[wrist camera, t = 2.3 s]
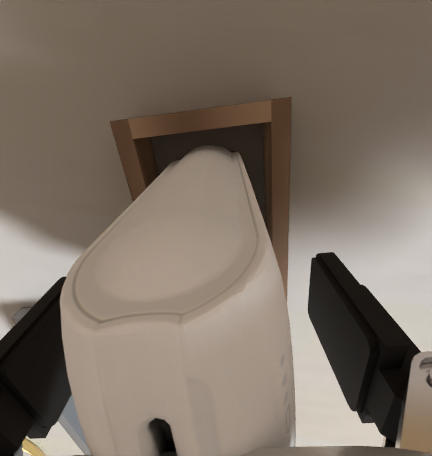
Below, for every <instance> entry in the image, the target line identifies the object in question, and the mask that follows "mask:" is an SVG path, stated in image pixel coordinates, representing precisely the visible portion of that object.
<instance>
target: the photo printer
mask: <svg viewBox="0 0 432 456" xmlns="http://www.w3.org/2000/svg"><path fill="white" fill-rule="evenodd" d="M60 310H61V329H62V340H63V347H64V354H65V361H66V368H67V375H68V379H69V383H70V387H71V391H72V396H73V400H74V404H75V408H76V412H77V416H78V419H79V422H80V425H81V428H82V431H83V434H84V437H85V440H86V443H87V446H88V449H89V451H90V453H91V455H93V456H160V455H161V454H162V453H163V452H169V451H176V452H177V456H240V455H243V454H246V453H248V452H250V451H253V450H255V449H257V448H278V447H295V420H296V417H295V388H294V371H293V355H292V345H291V334H290V323H289V315H288V308H287V302H286V297H285V292H284V287H283V282H282V277H281V273H280V270H279V267H278V263H277V260H276V257H275V253H274V250H273V247H272V243H271V240H270V237H269V235H268V232H267V229H266V226H265V223H264V220H263V217H262V214H261V211H260V208H259V206H258V203H257V200H256V197H255V194H254V191H253V188H252V185H251V182H250V180H249V177H248V174H247V171H246V168H245V166H244V163H243V160H242V158H241V155H240V153H238V152H233V153H231V152H230V151H228V150H227V149H225V148H223V147H219V146H215V145H204V146H199V147H196V148H194V149H192V150H191V151H189V152H188V153H187V154H186V155H185V156H184V157H183V158H182V159H181V160H175V161H173V162H172V163H171V164H170V165H169V166H168V167H167V168H166V169H165V170H164V171H163V172H162V173H161V174H160V175H159V176H158V177H157V178H156V179H155V180H154V181H153V182H152V183H151V184H150V185H149V186H148V187H147V188H146V189H145V190H144V192H143V193H142V194H141V195H140V196H139V197H137V199H136V200H135V201H134V202H133V203H132V204H131V205H130V206H129V207H128V208H127V209H126V210H125V211H124V212H123V213H122V214H121V215H120V216H118V218H117V219H116V220H115V221H114V222H113V223H112V224H111V225H110V226H109V227H108V228H107V229H106V230H105V231H104V232H103V233H102V234H101V235H100V236H99V237H98V238H97V239H96V240H95V241H94V242H93V243H92V244H91V245H90V246H89V247H88V248H87V249H86V250H85V251H84V252H83V253H82V255H81V256H80V257H79V258H78V259H77V261H76V262H75V263H74V264H73V266H72V267H71V269H70V271H69V272H68V274H67V277H66V280H65V282H64V285H63V287H62V291H61V296H60Z"/></svg>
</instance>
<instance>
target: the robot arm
mask: <svg viewBox="0 0 432 456" xmlns="http://www.w3.org/2000/svg"><path fill="white" fill-rule="evenodd" d="M65 280H66V277H62V278H60V279H59V280H58V281H57V282H56V283H55V284H54V285H53V286H52V287H51V288H50V289H49V290H48V291H47V293H46V294H45V295H44V296H43V297H42V298H41V299H40V300H39V301H38V302H37V303H36V304H35V305H34V306H33V307H32V308H31V309H30V310H29V311H28V312H27V313H26V314H25V315H24V316H23V317H22V319H21V320H20V321H19V322H18V323H17V324H16V325H15V326H14V327H13V328H12V329H11V330H10V331H9V332H8V333H7V334H6V335H5V336H4V337H3V338H2V339H1V340H0V456H23V445H22V442H23V441H24V439H25V437H26V436H28V437H29V438H30V439H33V438H46V436H47V434H48V432H49V430H50V429H51V427H52V426H53V425H55V423H56V422H57V421H58V419H59V417H60V416H61V414H62V412H63V410H64V408H65V406H66V404H67V402H68V400H69V398H70V396H71V395H72V391H71V387H70V383H69V379H68V375H67V368H66V361H65V354H64V347H63V340H62V329H61V310H60V296H61V291H62V287H63V285H64V282H65ZM308 314H309V317H310V320H311V322H312V324H313V326H314V329H315V331H316V333H317V335H318V338H319V340H320V342H321V344H322V347H323V349H324V351H325V353H326V356H327V358H328V360H329V362H330V365H331V367H332V369H333V371H334V374H335V376H336V378H337V381H338V383H339V385H340V387H341V390H342V392H343V394H344V396H345V399H346V401H347V403H348V405H349V407H350V409H351V410H352V411H357V413H358V415H359V417H360V419H361V422H362V423H375V424H376V426H377V428H378V430H379V432H380V433H381V434H382V435H383V436H384V438H383V444H382V447H370V446H325V447H278V448H257V449H255V450H253V451H250V452H248V453H246V454H243V455H240V456H432V352H430V351H427V352H421V351H420V350H419V349H418V348H417V347H416V345H415V344H414V343H413V342H412V341H411V339H410V338H409V337H408V336H407V335H406V334H405V332H404V331H403V330H402V329H401V328H400V326H399V325H398V324H397V323H396V322H395V321H394V319H393V318H392V317H391V316H390V315H389V313H388V312H387V311H386V310H385V309H384V308H383V306H382V305H381V304H380V303H379V302H378V300H377V299H376V298H375V297H374V296H373V295H372V293H371V292H370V291H369V290H368V289H367V288H366V287H365V286H363V285H360V284H359V283H358V281H357V280H356V279H355V278H354V276H353V275H352V274H351V273H350V272H349V270H348V269H347V268H346V267H345V266H344V264H343V263H342V262H341V261H340V259H339V258H338V257H337V256H336V255H335V254H334V253H333V252H330V253H319V254H317V255H316V258H312V261H311V273H310V286H309V299H308ZM74 456H93V455H74ZM160 456H177V452H176V451H169V452H163V453H162V454H161V455H160Z"/></svg>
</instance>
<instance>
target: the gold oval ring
mask: <svg viewBox="0 0 432 456" xmlns="http://www.w3.org/2000/svg"><path fill="white" fill-rule="evenodd" d="M22 445H23V450H24V451H25V452H27V453H28V454H30V455H31V456H45V455H44V453H43V452H42V451H41V450H40V449H39V448H38V447H37V446H36V445H35V444H33V443H32V442H30V441H29V440H27V439H26V438H25V439H24V441H23V442H22Z"/></svg>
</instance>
